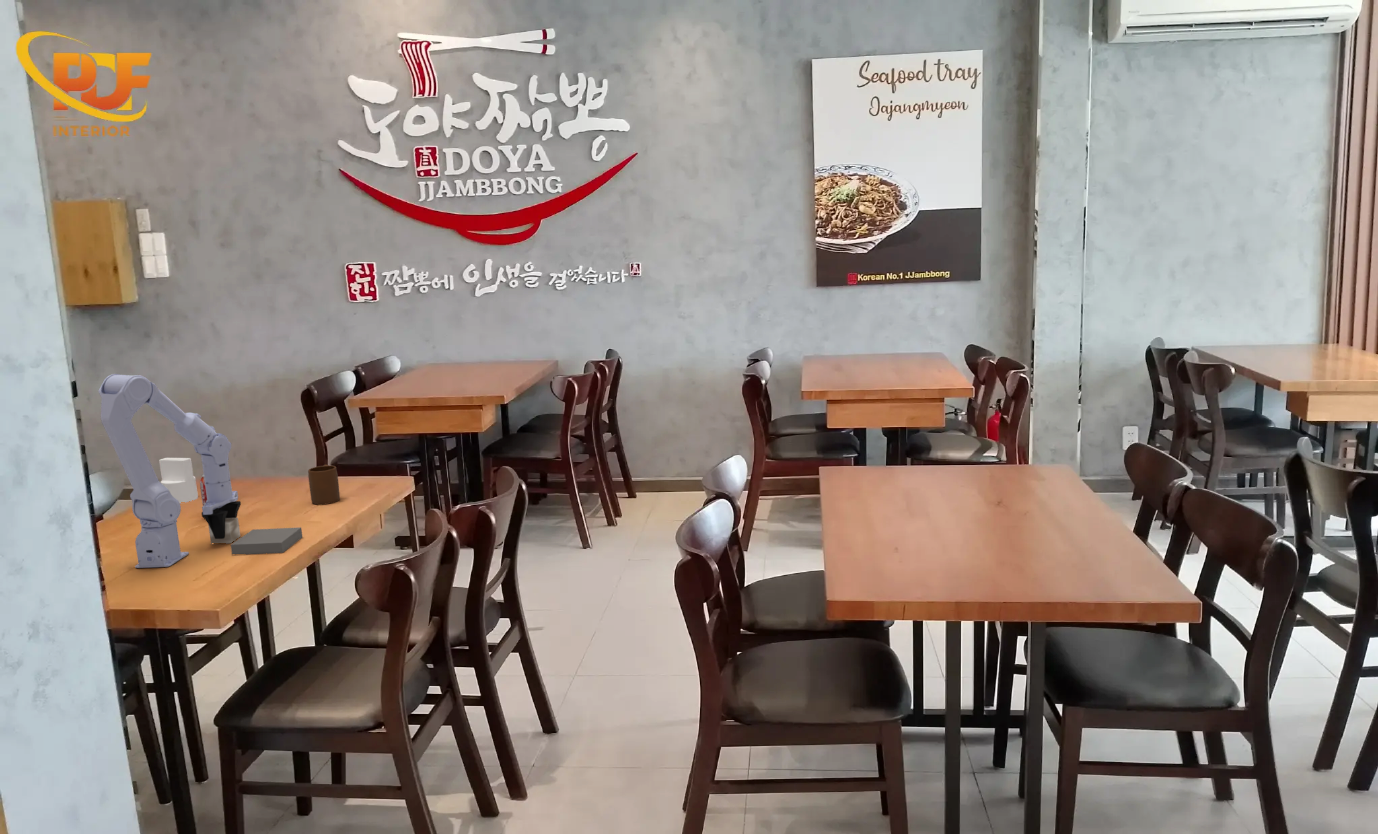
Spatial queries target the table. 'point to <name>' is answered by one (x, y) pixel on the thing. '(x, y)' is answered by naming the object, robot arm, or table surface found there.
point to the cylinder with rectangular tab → (179, 478)
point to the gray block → (227, 531)
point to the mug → (323, 484)
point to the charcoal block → (267, 541)
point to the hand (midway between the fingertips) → (225, 535)
